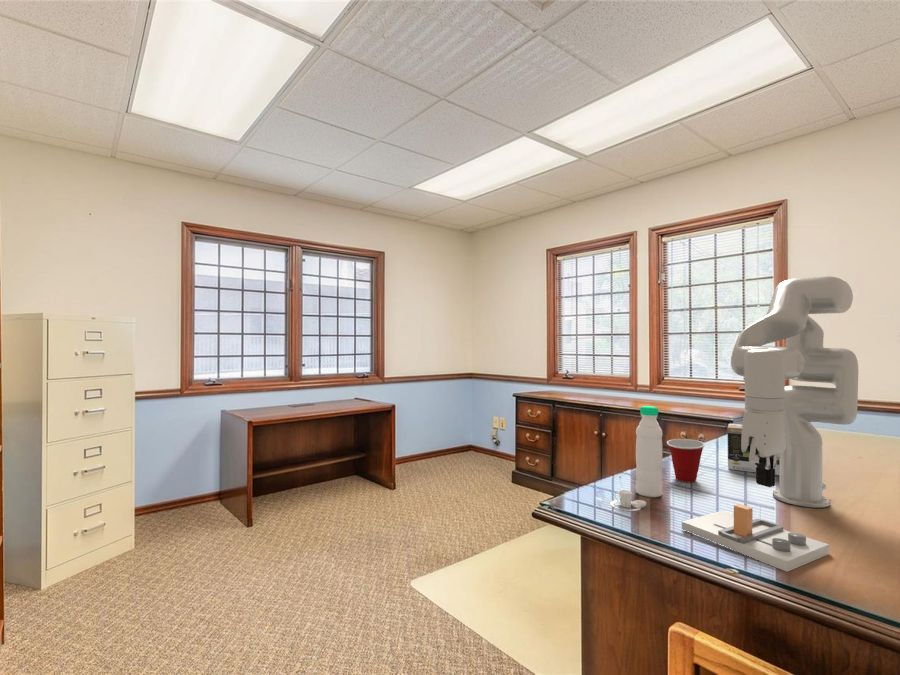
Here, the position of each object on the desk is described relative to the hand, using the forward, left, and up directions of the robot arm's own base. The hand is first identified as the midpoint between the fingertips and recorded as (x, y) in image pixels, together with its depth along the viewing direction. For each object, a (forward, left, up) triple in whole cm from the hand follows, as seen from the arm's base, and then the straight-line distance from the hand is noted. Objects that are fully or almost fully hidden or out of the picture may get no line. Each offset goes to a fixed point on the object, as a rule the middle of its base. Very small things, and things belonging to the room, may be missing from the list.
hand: (765, 484), depth 106 cm
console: (+6, 0, -12) cm, 13 cm away
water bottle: (-1, -32, -12) cm, 34 cm away
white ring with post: (+13, -25, -12) cm, 31 cm away
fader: (+9, 0, -9) cm, 13 cm away
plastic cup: (-23, -36, -12) cm, 44 cm away
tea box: (-55, -33, -12) cm, 65 cm away
